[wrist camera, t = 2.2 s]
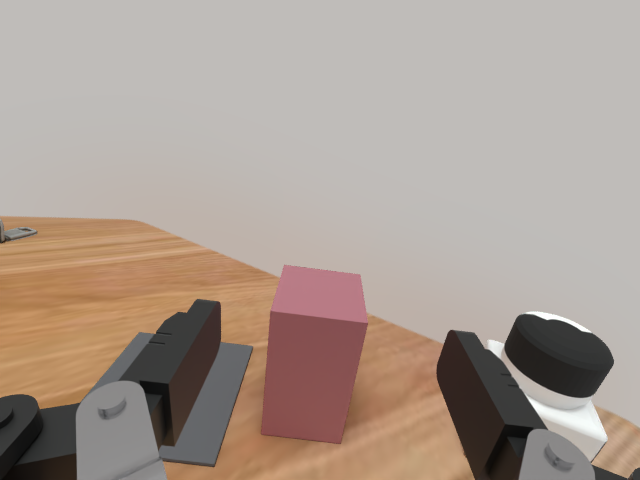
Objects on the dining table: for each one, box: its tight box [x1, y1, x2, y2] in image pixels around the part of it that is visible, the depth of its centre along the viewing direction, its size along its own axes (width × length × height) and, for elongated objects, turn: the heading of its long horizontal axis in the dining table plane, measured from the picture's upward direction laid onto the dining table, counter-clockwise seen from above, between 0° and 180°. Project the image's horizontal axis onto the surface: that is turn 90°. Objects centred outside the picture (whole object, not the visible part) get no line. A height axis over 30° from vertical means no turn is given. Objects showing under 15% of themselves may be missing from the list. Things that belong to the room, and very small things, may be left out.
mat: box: [80, 332, 253, 467], centre depth 28 cm, size 12×12×1 cm
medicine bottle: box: [464, 312, 614, 463], centre depth 25 cm, size 7×7×12 cm
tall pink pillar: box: [261, 265, 368, 444], centre depth 26 cm, size 6×6×12 cm
